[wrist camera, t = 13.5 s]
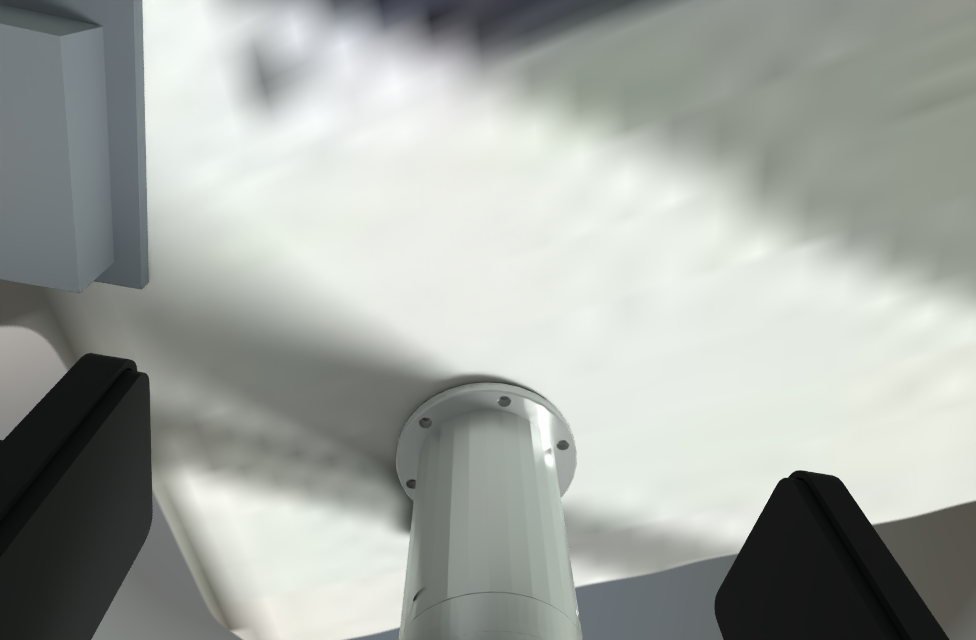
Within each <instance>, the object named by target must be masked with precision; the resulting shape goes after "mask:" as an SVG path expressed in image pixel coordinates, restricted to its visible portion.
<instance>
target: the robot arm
mask: <svg viewBox="0 0 976 640" xmlns="http://www.w3.org/2000/svg"><path fill="white" fill-rule="evenodd" d="M576 465H577V459H576V447H575V442H574V437H573V434H572V432H571V429H570V427H569V424H568V423H567V421H566V420H565V419H564V417H563V416H562V414H561V413H560V412H559V411H558V410H557V409H556V408H555V407H554V406H553V405H552V404H551V403H550V402H548V401H547V400H545V399H543V398H542V397H540V396H539V395H537V394H535V393H533V392H530V391H528V390H525V389H523V388H520V387H517V386H512V385H507V384H502V383H475V384H466V385H462V386H459V387H455V388H451V389H448V390H446V391H444V392H442V393H440V394H438V395H435V396H433V397H432V398H430V399H429V400H428V401H426V402H425V403H423V404H422V405H421V406H420V407H419V408H418V409H417V410H416V411H415V412H414V413H413V414H412V415H411V416H410V417H409V419H408V420H407V422H406V424H405V425H404V427H403V429H402V431H401V434H400V437H399V440H398V445H397V452H396V470H397V473H398V477H399V480H400V483H401V485H402V486H403V488H404V490H405V492H406V493H407V495H408V496H409V497H410V498H411V499H412V501H413V502H414V505H413V514H412V523H411V532H410V542H409V551H408V560H407V569H406V579H405V588H404V597H403V606H402V616H401V625H400V634H399V640H583V639H582V632H581V626H580V618H579V612H578V606H577V600H576V593H575V587H574V581H573V574H572V568H571V562H570V555H569V549H568V542H567V536H566V529H565V523H564V516H563V510H562V503H561V497H562V496H563V495H564V494H565V492H566V491H567V490H568V488H569V486H570V484H571V482H572V480H573V478H574V473H575V469H576ZM151 522H152V472H151V430H150V389H149V377H148V375H147V374H146V373H143V372H137V366H136V364H135V362H134V361H132V360H129V359H123V358H117V357H111V356H105V355H99V354H93V353H89V354H85V355H84V356H83V357H81V358H80V359H79V360H78V362H77V363H76V364H75V365H74V366H73V367H72V368H71V369H70V370H69V371H68V372H67V373H66V374H65V375H64V376H63V378H62V379H61V380H60V381H59V382H58V383H57V384H56V385H55V386H54V387H53V388H52V389H51V390H50V391H49V392H48V393H47V394H46V396H45V397H44V398H43V399H42V400H41V401H40V402H39V403H38V404H37V405H36V406H35V407H34V408H33V409H32V410H31V411H30V412H29V414H28V415H27V416H26V417H25V418H24V419H23V420H22V421H21V422H20V423H19V424H18V425H17V426H16V427H15V428H14V430H13V431H12V432H11V433H10V434H9V435H8V436H7V437H6V438H5V439H4V440H0V640H91V639H92V637H93V635H94V633H95V632H96V629H97V628H98V626H99V624H100V622H101V621H102V619H103V617H104V615H105V613H106V611H107V610H108V608H109V606H110V604H111V602H112V601H113V599H114V597H115V595H116V593H117V591H118V589H119V588H120V586H121V584H122V582H123V580H124V579H125V577H126V575H127V573H128V571H129V570H130V568H131V566H132V564H133V562H134V560H135V559H136V557H137V555H138V553H139V551H140V549H141V548H142V546H143V544H144V542H145V540H146V538H147V535H148V533H149V530H150V526H151ZM715 615H716V619H717V622H718V625H719V628H720V631H721V633H722V636H723V639H724V640H949V638H948V637H947V635H946V634H945V632H944V631H943V630H942V628H941V627H940V625H939V624H938V622H937V621H936V619H935V618H934V616H933V615H932V613H931V612H930V610H929V609H928V608H927V606H926V605H925V603H924V602H923V600H922V599H921V597H920V596H919V594H918V593H917V591H916V590H915V589H914V587H913V585H912V584H911V582H910V581H909V580H908V578H907V577H906V575H905V574H904V572H903V571H902V569H901V568H900V566H899V565H898V563H897V562H896V561H895V559H894V557H893V556H892V554H891V553H890V551H889V550H888V549H887V547H886V546H885V544H884V543H883V541H882V540H881V538H880V537H879V535H878V534H877V532H876V531H875V529H874V528H873V526H872V525H871V523H870V522H869V521H868V519H867V518H866V516H865V515H864V513H863V512H862V510H861V509H860V507H859V506H858V504H857V503H856V501H855V500H854V498H853V497H852V496H851V494H850V493H849V491H848V490H847V488H846V487H845V485H844V484H843V482H842V481H841V480H840V479H839V478H837V477H835V476H832V475H826V474H820V473H814V472H808V471H802V470H800V471H795V472H793V473H792V474H791V475H790V476H789V477H788V478H783V479H781V480H780V481H779V483H778V484H777V486H776V487H775V489H774V491H773V493H772V495H771V496H770V498H769V500H768V502H767V504H766V505H765V507H764V509H763V511H762V513H761V514H760V516H759V518H758V520H757V522H756V524H755V525H754V527H753V529H752V531H751V533H750V534H749V536H748V538H747V540H746V542H745V543H744V545H743V547H742V549H741V551H740V552H739V554H738V556H737V558H736V560H735V561H734V563H733V565H732V567H731V569H730V570H729V572H728V574H727V576H726V578H725V579H724V581H723V583H722V585H721V587H720V588H719V590H718V592H717V595H716V598H715Z"/></svg>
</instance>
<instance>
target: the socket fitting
mask: <svg viewBox="0 0 976 640" xmlns="http://www.w3.org/2000/svg"><path fill="white" fill-rule="evenodd" d="M0 279H2V280H8V281H13V282H19V283H25V284H31V285H36V286H42V287H48V288H53V289H59V290H65V291H71V292H76V293H80V292H82V291H83V290H84V289H85V288H86V287H87V286H88V285H89V284H90V283H92V282H93V281H96V282H102V283H108V284H113V285H119V286H125V287H130V288H136V289H143V287H144V286H145V285H146V284H147V283H148V282H149V279H148V235H147V192H146V148H145V104H144V61H143V17H142V0H0Z"/></svg>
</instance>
